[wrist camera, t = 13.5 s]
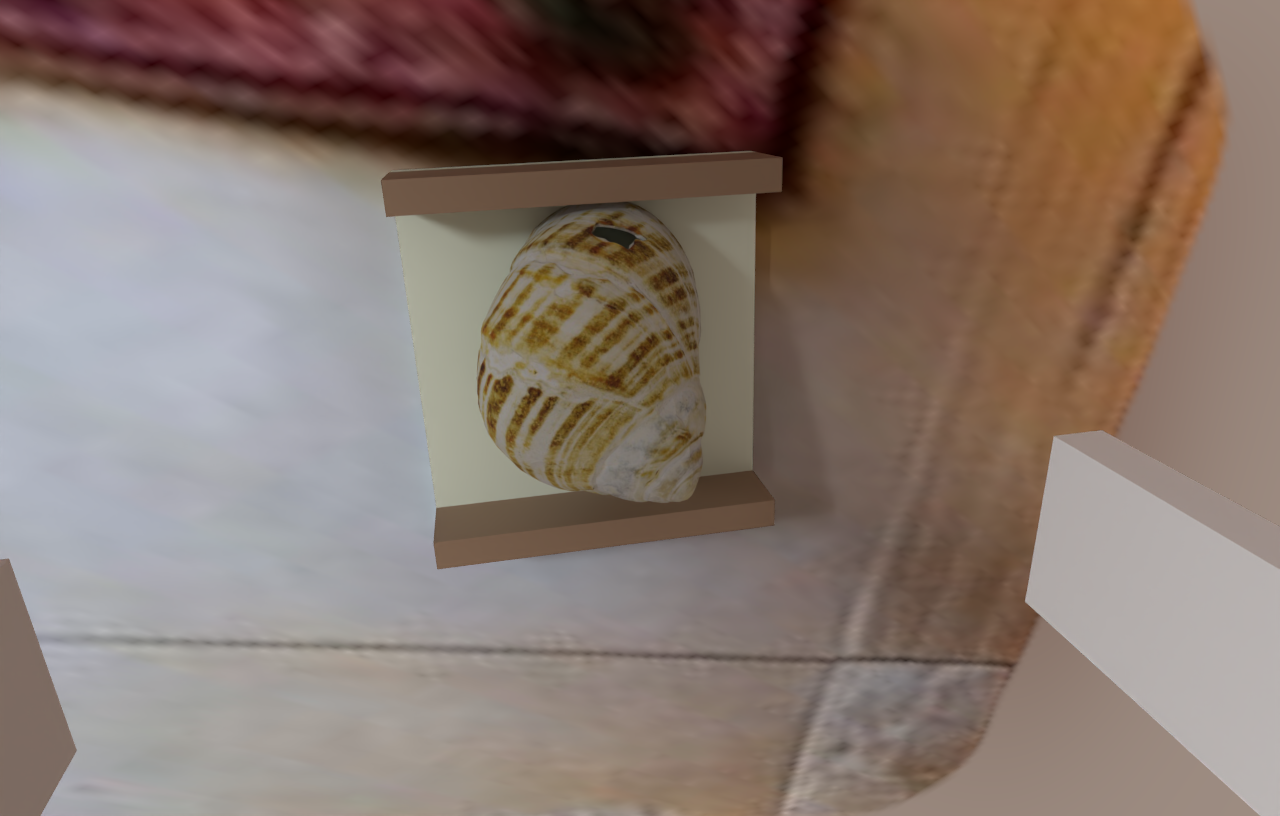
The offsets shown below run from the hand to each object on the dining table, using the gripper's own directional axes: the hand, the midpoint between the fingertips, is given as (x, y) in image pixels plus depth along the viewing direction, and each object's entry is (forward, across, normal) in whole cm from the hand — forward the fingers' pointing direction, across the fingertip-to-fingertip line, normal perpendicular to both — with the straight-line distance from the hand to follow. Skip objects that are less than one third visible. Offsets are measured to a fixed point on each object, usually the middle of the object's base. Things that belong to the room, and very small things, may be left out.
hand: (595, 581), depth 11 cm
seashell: (+24, +3, -4) cm, 24 cm away
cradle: (+24, +3, -4) cm, 25 cm away
